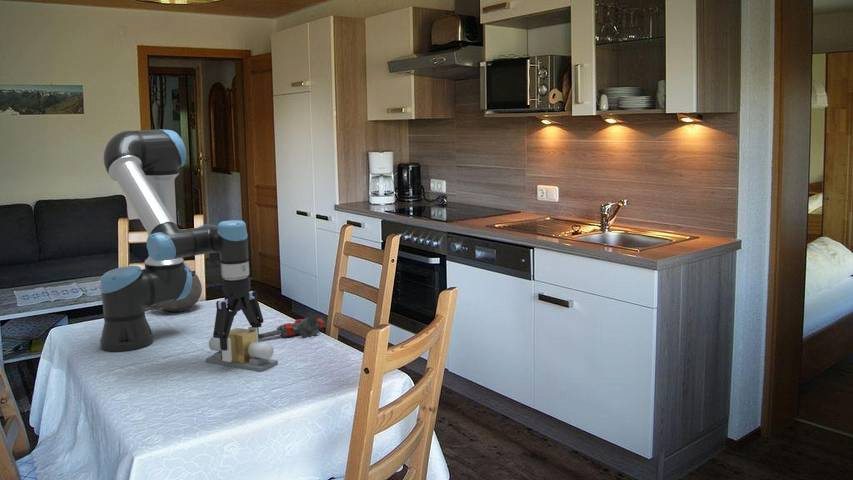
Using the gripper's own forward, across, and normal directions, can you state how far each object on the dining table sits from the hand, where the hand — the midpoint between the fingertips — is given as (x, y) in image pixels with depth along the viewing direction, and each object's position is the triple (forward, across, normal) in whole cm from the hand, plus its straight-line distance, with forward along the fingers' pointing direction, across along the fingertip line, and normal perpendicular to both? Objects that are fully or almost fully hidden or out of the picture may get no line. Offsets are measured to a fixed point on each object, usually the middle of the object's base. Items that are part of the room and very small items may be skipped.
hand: (241, 355), depth 206 cm
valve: (+3, +27, +7) cm, 28 cm away
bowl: (+2, +36, +63) cm, 73 cm away
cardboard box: (+1, 0, 0) cm, 1 cm away
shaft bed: (+2, 0, 0) cm, 2 cm away
